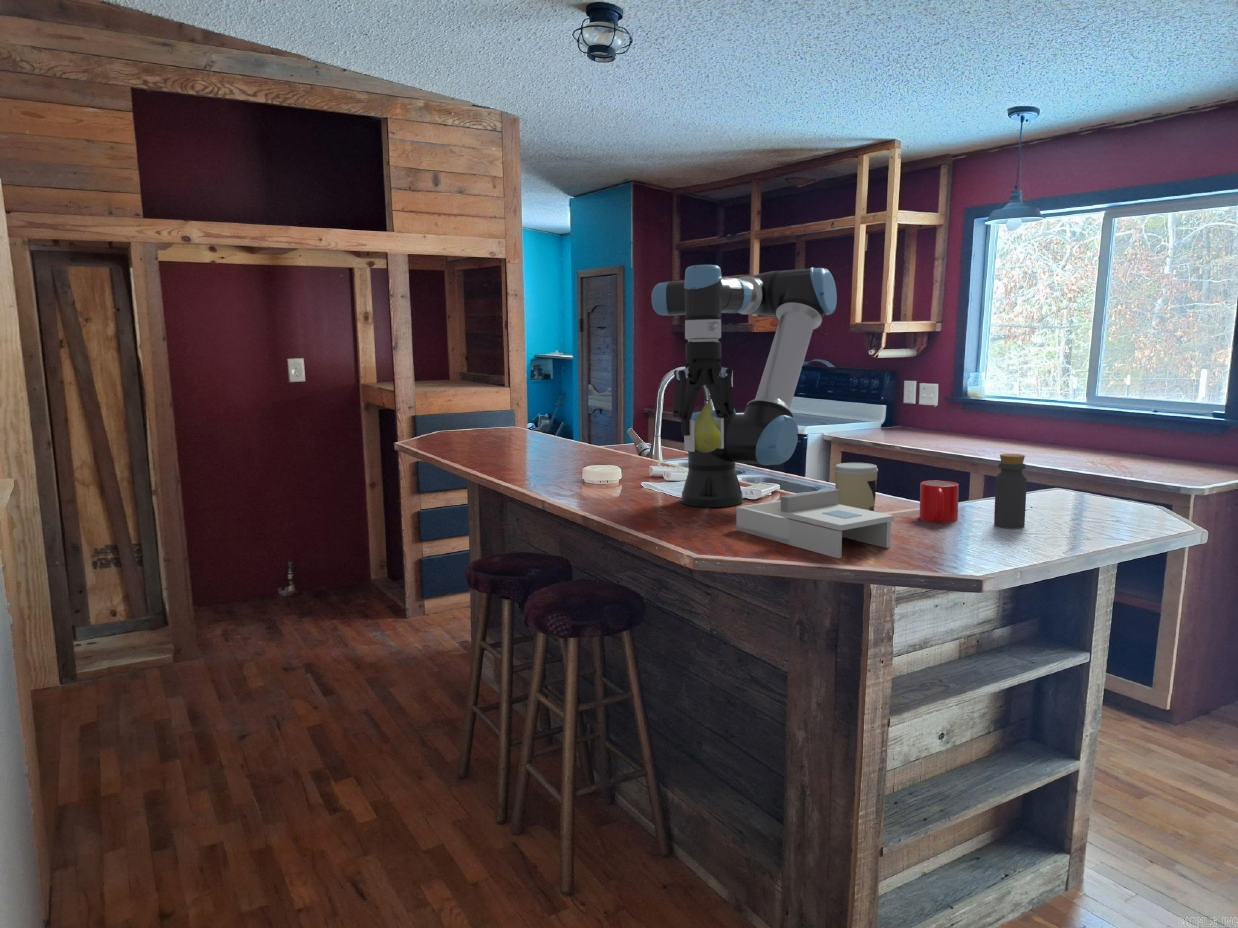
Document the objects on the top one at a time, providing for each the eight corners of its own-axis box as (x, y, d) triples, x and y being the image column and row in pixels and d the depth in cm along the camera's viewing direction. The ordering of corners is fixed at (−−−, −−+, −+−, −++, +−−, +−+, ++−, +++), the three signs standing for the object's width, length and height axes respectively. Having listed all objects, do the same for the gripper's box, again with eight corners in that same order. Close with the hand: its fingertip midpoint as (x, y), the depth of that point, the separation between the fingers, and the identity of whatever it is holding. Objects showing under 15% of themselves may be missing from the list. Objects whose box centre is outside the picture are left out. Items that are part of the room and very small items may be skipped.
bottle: (1000, 521, 180) (1003, 452, 178) (1028, 525, 176) (1032, 454, 174) (989, 525, 176) (992, 455, 174) (1018, 529, 172) (1021, 457, 170)
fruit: (685, 454, 177) (684, 397, 175) (695, 449, 184) (695, 394, 182) (715, 454, 174) (714, 397, 172) (725, 450, 181) (724, 394, 179)
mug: (921, 525, 178) (922, 489, 177) (918, 514, 189) (919, 479, 188) (961, 527, 176) (962, 490, 175) (955, 515, 187) (957, 480, 186)
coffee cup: (879, 523, 181) (880, 468, 179) (834, 522, 182) (835, 468, 181) (874, 514, 190) (876, 462, 188) (832, 514, 191) (833, 462, 190)
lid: (780, 516, 165) (780, 496, 165) (831, 507, 172) (832, 488, 172) (840, 530, 152) (841, 509, 151) (893, 520, 159) (894, 500, 158)
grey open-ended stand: (736, 530, 178) (736, 506, 177) (786, 521, 185) (786, 499, 184) (837, 558, 153) (838, 531, 152) (890, 547, 160) (890, 521, 159)
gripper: (673, 341, 167) (675, 455, 171) (751, 339, 177) (751, 447, 180) (653, 342, 174) (655, 451, 177) (730, 340, 184) (730, 444, 187)
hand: (704, 449), depth 179 cm, fingers closed on fruit, 7 cm apart
